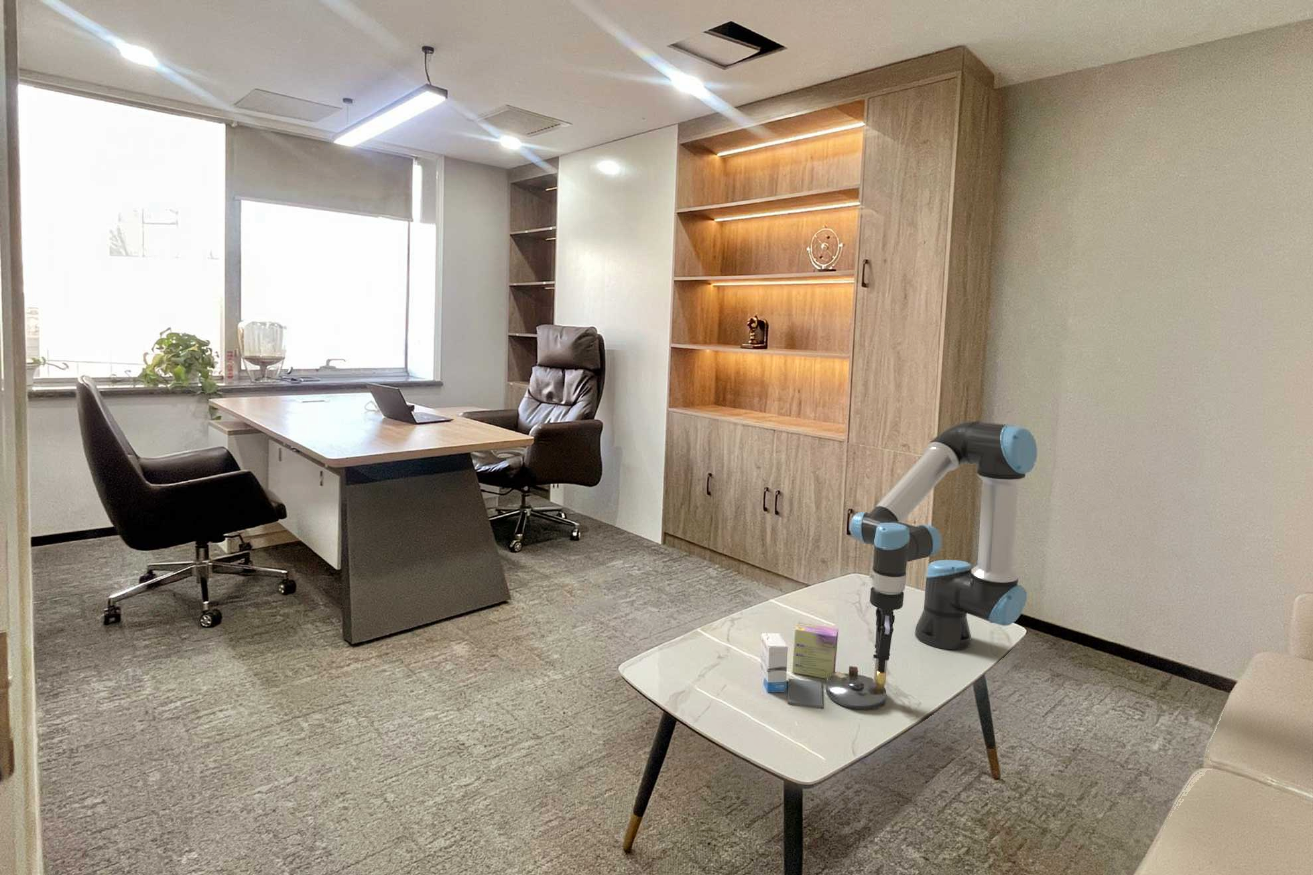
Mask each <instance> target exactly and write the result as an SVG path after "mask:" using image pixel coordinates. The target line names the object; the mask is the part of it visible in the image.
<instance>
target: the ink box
mask: <svg viewBox="0 0 1313 875" xmlns="http://www.w3.org/2000/svg"><path fill="white" fill-rule="evenodd" d="M760 636H761V637H760V638H761V639H760V665H759V666H760V667H759V668H760V671H759V672H760V673H759V677H760V680H761V683H763V686H764V688H765V690H766V692H767V693H780V692H781V693H783V692H787V673H788V670H787V669H788V667H787V666H788V650H789V649H788V648H789V647H788V645H787V644H786V642H785V640H784V639H783V637H782V635H781V634H780V633H779V632H777V633H773V632H772V633H767V632H766V633H765V632H763V633H761V635H760Z"/></svg>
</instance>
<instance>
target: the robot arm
mask: <svg viewBox="0 0 1313 875" xmlns="http://www.w3.org/2000/svg"><path fill="white" fill-rule="evenodd" d="M1037 458H1038V447H1037V442H1036V439H1035V437H1034V435H1032V433H1031V431H1029V430H1028V428H1025V427H1021V426H1015V425H1013V424H1003V423H996V422H995V423H994V422H986V421H985V422H984V421H978V420H968V421H963V422H959V423H957V424H954V425H952V426H951V427H949V428H946V429H945V430H943V431H942V432H941V433H939V434H938V435H936V436H935V437H934V438H933V439H932V440H931V441H930V442H929V443H928V444H927V445H926V447H925V453H924V454H923V455H922V456H921V457H920V458H919V459H918V461H917V462H916V463H915V464H914V465H913V466H912V467H911V468H910V469H909V470H908V471H907V472H906V473H905V475H903V477H901V479H900V480H899V481H898V482H897V483H896V484H895V485H894V487H892V488H891V489H890V490H889V491H888V493H887V494H886V495H885V496H884V497H883V498H882V499H881V500H880V501H879V503H877V504H876V506H875V507H874V508H873V509H872V510H871V511H870V512H865V511H861V512H857V513H855V514H854V515H853V517H852V518H851V520H850V524H849V532H850V534H851V537H852V538H853V539H855V541H856V540H857V541H859V542H861V543H864V544H866V545H871V546H873V560H872V561H873V564H872V573H869V578H871V588H870V593H869V594H870V595H869V602H870V604H871V605H872V606H873V607H875V617H876V618H875V619H876V620H875V626H876V627H875V628H876V630H875V644H874V648H875V651H874V652H875V654H873V659H874V667H873V678H872V679H873V682H874V683H876V676H877V670H878V672H884V671H885V672H886V674H885V683H886V682H887V681H886V680H887V670H888V669H887V668H888V661H889V660H890V655H891V645H892V639H893V638H892V637H893V633H894V630H895V629H894V624H895V619H896V617H895V615H894V611H895V610H896V611H897V610H901V609H902V608H903V605H904V595H905V592H904V591H905V588H906V577H907V573H906V572H907V564H908V563H909V562H912V561H916V560H921V559H925V558H926V559H927V558H929V557H931V556H933V555H935V554H937V553H938V552H939V551H940V549H941V548H942V543H943V540H942V536H941V533H940V532H939V531H938V529H937V528H936V527H934V526H933V525H930V524H921V525H920V524H919V525H918V526H917V525H913V524H908V523H905V522H904V521H905V520H906V519H907V518H908V516H909V515H911V514H912V512H913V511H914V510H915V508H917V506H918V505H919V504H920V503H921V502H922V501H923V500H924V499H925V498H926V497H927V496H928V494H929V493H930V492H931V491H932V490H933V489H934V487H936V485H937V484H939V482H940V481H941V480H942V479H943V478H944V476H946V474H947V473H948V472H952V471H955V470H956V469H957V468H958V467H959V466H960V465H963V464H971V465H975V466H976V475H977V476H978V477H979V478H980V479H981V480H982V484H981V485H982V488H981V499H980V500H981V501H980V502H981V504H980V521H979V536H978V538H979V539H978V553H977V565H975V566H974V567H972V564H971V563H969V562H968V561H963V560H956V559H941V560H935V561H932V562H930V563H929V564H928V566H927V571H926V575H925V589H924V590H925V591H924V601H923V611H922V612H921V615H920V617H919V619H918V621H917V623H916V625H915V628H914V629H915V630H914V633H915V634H914V636H915V637H916V639H917V640H918V641H919V642H920V641H921V642H922V643H923V644H926V645H929V646H931V647H935V648H939V649H945V650H954V651H956V650H964V649H967V648H969V647H970V646H971V644H972V635H971V630H970V626H969V622H968V621H969V620H968V617H967V616H968V615H969V616H970V615H971V616H973V617H976V618H979V619H981V620H984V621H986V622H989V623H991V624H996V625H999V626H1003V627H1004V626H1005V627H1006V626H1010V625H1012V624H1013V623H1015V622H1016V621H1017V620H1018V619H1019V617H1020V616H1021V614H1022V613H1023V611H1024V609H1025V606H1026V602H1027V596H1028V595H1027V591H1026V588H1025V587H1023V586H1022V585H1019V575H1018V573H1017V572H1016V571H1015V570H1014V569H1013V568H1014V554H1015V553H1014V552H1015V536H1016V524H1017V523H1016V522H1017V521H1016V520H1017V508H1018V496H1019V495H1018V493H1019V492H1018V491H1019V484H1020V483H1021V482H1022V481H1023V480H1024V479H1026V474H1028V473H1030V472H1031V471H1032V470H1033V469H1034V467H1035V463H1036V461H1037Z"/></svg>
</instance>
